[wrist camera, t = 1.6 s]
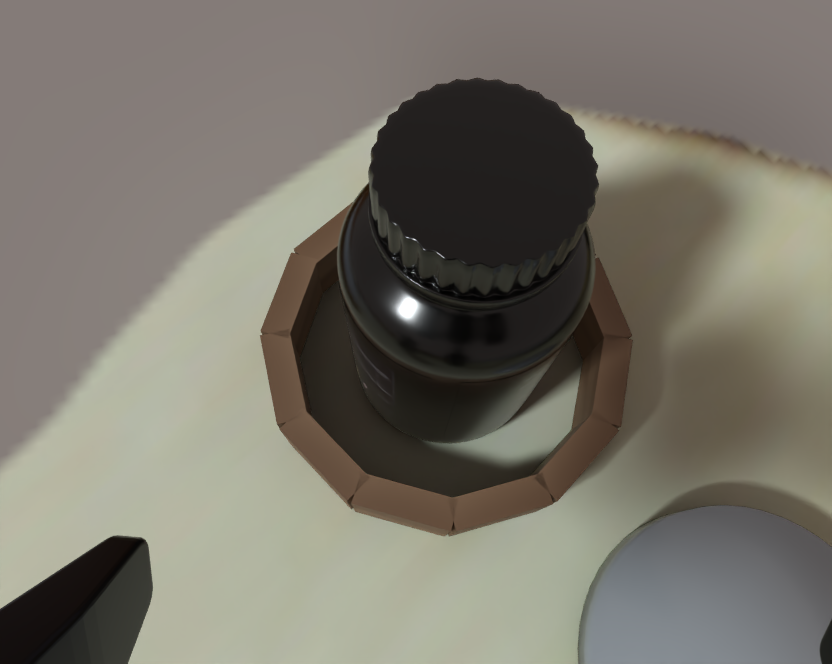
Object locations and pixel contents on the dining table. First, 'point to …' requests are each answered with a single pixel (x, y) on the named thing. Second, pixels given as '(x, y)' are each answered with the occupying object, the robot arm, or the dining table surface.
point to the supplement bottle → (467, 256)
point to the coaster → (710, 592)
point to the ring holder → (591, 431)
